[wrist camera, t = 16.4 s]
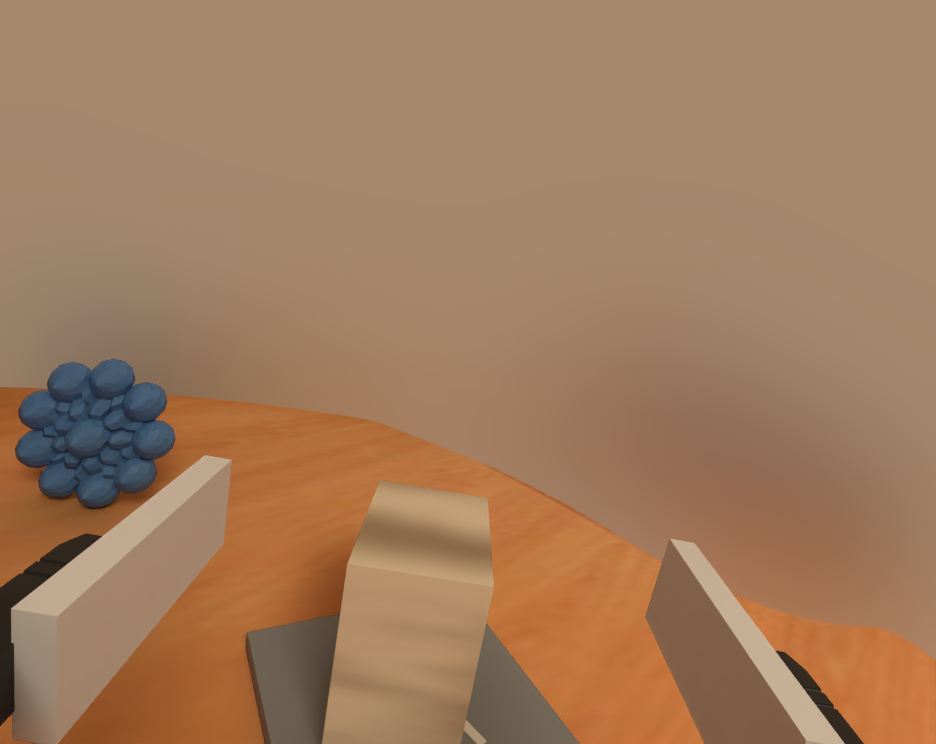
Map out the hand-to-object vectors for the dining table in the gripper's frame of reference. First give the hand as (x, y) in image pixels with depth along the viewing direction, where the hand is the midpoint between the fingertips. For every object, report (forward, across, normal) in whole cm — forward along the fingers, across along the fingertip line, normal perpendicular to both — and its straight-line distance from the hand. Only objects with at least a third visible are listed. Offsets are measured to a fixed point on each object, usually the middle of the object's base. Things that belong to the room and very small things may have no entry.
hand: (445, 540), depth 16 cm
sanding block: (+9, 0, -15) cm, 17 cm away
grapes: (+24, -26, -16) cm, 39 cm away
